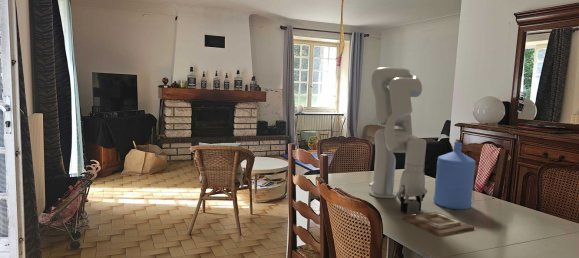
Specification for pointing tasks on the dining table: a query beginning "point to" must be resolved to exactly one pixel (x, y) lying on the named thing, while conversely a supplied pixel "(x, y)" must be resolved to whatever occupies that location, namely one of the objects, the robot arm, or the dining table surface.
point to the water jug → (454, 179)
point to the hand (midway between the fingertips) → (410, 210)
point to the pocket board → (438, 223)
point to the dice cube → (412, 206)
